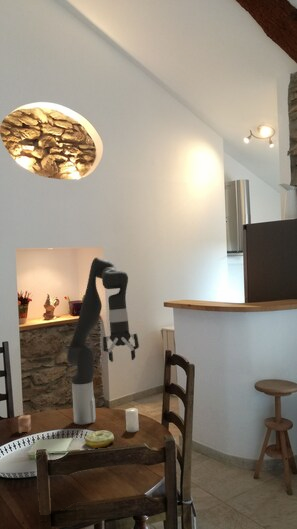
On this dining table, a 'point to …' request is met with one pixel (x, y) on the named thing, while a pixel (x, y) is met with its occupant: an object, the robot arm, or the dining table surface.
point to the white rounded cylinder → (132, 420)
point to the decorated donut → (99, 439)
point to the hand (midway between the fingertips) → (122, 360)
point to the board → (51, 445)
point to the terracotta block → (24, 423)
